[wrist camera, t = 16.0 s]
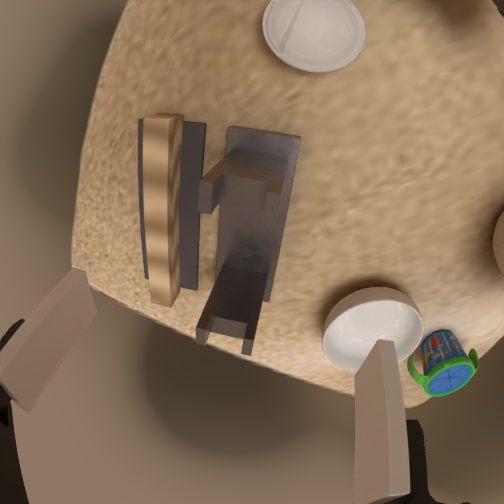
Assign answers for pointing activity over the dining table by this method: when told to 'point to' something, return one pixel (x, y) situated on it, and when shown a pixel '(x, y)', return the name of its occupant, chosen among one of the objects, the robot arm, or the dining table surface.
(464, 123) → the dining table surface
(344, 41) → the ramekin
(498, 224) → the canister
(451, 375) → the snack cup
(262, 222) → the stand
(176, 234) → the maple rail
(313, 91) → the dining table surface
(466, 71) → the dining table surface
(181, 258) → the black rubber mat
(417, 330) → the cereal bowl
